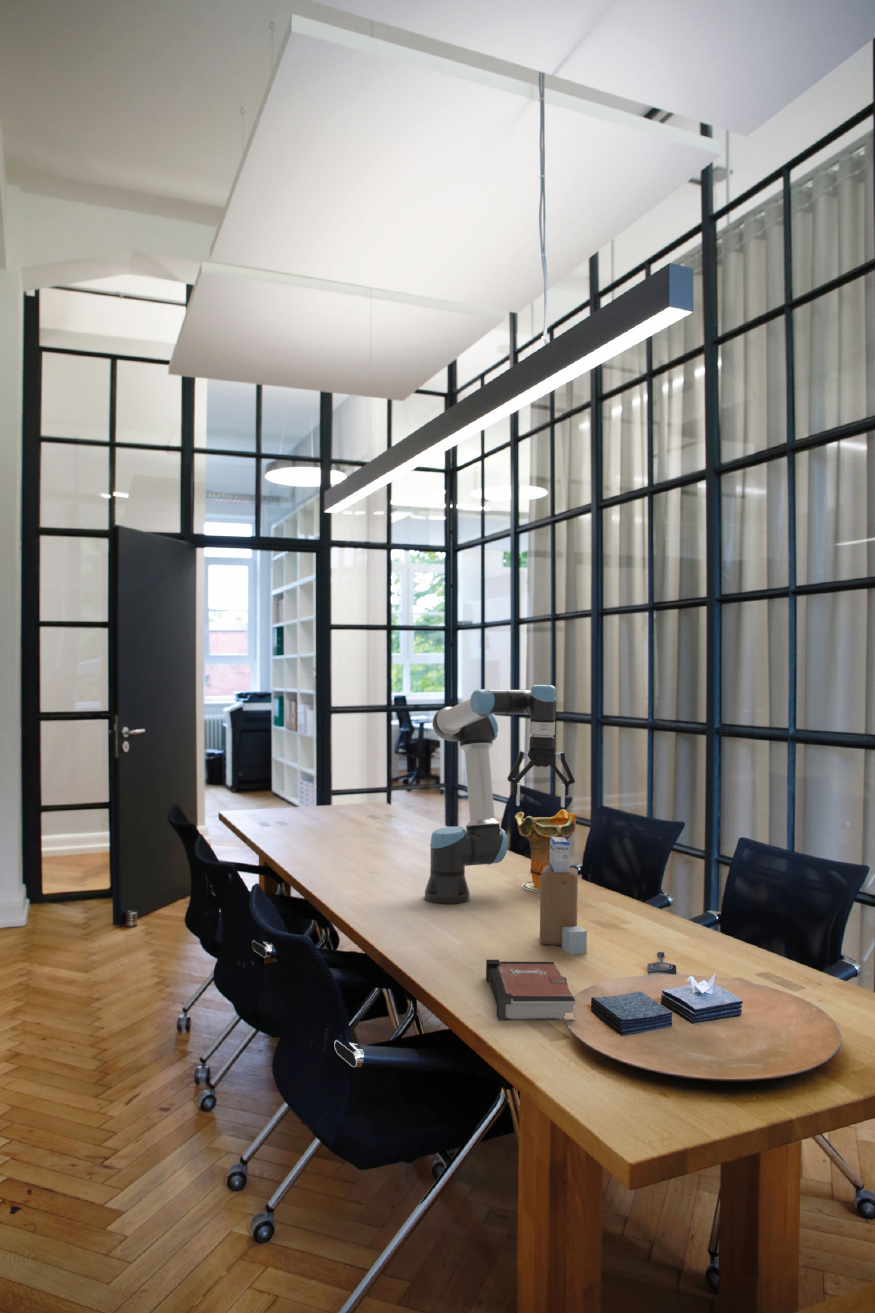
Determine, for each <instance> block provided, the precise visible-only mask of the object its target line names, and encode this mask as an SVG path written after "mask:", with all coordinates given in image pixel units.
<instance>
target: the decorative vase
mask: <svg viewBox="0 0 875 1313" xmlns="http://www.w3.org/2000/svg"><path fill="white" fill-rule="evenodd" d="M578 817H579V816H578V814H577V813H573V812H568V811H567V810H566V809H563V808H562V809H560V810H559V811H557V813H556V814H555V815H553V816H551V817H547V816H545V817H543V816H541V817H540V816H539V817H533V816H530V815H528V816H526V817H525V813H524V812H523V811H519V812H517V813H516V814H515V815H514V819H515V821H516V823H517V830H518V833H519V835H520V836H522V837H524V838H526V839H527V840H528V842H529V847H530V871H529V875H528V876H531V880H532V881H528V879H527V881H525V882H522V884H521V888H523V889H524V890H527V891H530V892H535V893H540V886H541V873H542V871H543V868H544V867H545V866H549V860H550V837H564V838H565V839H566V840H567V841H568V839H569V838H570V837H571V836H572V835H573V833H574V832H575V830H576V827H577V826H576V824H577V822H576V820H577V818H578ZM530 874H531V875H530Z"/></svg>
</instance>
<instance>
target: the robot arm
mask: <svg viewBox="0 0 875 1313" xmlns="http://www.w3.org/2000/svg"><path fill="white" fill-rule="evenodd" d="M530 688H531V689H530V690H528V689H487V688H483V689H475V690H474V691H473V692H472V694H471V695H470V698H468V699H466V700H465V701H462V702H460V703H458V704H456V705H455V706H446V707H443V708H441V709H439V710H438V711H436V712H435V714H434V715H433V718H432V721H431V722H432V723H431V724H432V728H433V731H434V733H435V734H436V736H438V737H439V738H441V739H442V740H445V741H447V742H459V747H460V749H461V750H462V751H463V752H464V760H465V772H466V773H465V774H466V784H467V785H466V787H467V798H468V799H467V800H468V813H469V821H468V823H467V824H466V825H465V827H463V826H457V825H456V826H446V827H440V828H437V829H435V830H434V831H433V832H432V833H431V836H430V844H429V847H430V865H429V866H430V868H429V869H430V870H429V871H430V874H429V877H428V881H427V884H426V886H425V890H424V899H425V901H428V902H432V903H435V904H443V905H445V904H448V905H449V904H451V905H452V904H462V903H465V902H467V901H469V900H470V890H469V886H468V881H467V879H466V871H465V870H466V868H465V867H468V866H481V865H482V866H483V865H484V866H485V865H488V866H489V865H492V864H493V865H494V864H499V863H501V862H502V861H503V860H504V859H505V857H506V855H507V852H508V846H509V842H508V840H509V839H508V835H507V833H506V831H505V830H504V829H503V828H502V827H500V822H499V821H498V820H496V818H495V807H494V797H493V796H494V795H493V783H492V782H493V780H492V771H491V760H490V749H491V748H492V747H493V743H494V741H495V740H496V739H497V737H498V732H499V724H498V720H497V717H496V715H530V720H529V723H530V724H529V734H530V735H531V736H530V737H529V748H528V749H529V750H528V751H523V750H519V752H518V757H517V760H516V761H515V763H514V765H513V767H512V769H511V771H510V773H509V774H508V776H507V778H506V779H507V781H508V782H510V783H512V792H513V795H516V797H515V798H516V800H515V801H516V802H515V805H516V806H517V807H519V806H520V803H521V802H520V799H521V798H520V797H521V783H520V781H521V780H522V779H523V777H525V776H526V774H527V773H528V772H529V771H530V769H532V768H533V767H536V768H539V767H543V768H548V767H550V768H551V769H552V770H553V771H554V773H555V774H556V775H557V777H558V778H559V779H560V780H561V781H562V783H563V784H560V790H561V791H560V807H561V808H565V804H566V803H565V802H566V801H565V800H566V797H568V796H569V793H570V792H569V791H570V790H569V788H570V785H571V784H575V782H576V780H575V779H574V778H575V777H574V776H573V773H572V772H571V769H570V767H569V765H568V763H567V761H566V755H565V752H563V751H561V752H555V743H556V742H555V740H556V738H555V737H554V736H555V733H556V731H555V730H556V729H555V727H556V712H557V711H556V705H557V702H556V701H557V694H556V693H557V692H556V686H554V685H551V684H550V685H547V684H533V685H532V686H531V687H530ZM527 757H528V758H529V761H528V762H527V764H526V765H525V766H524V768H523V769H522V770H521V771H520V772H519V773H518V774H517V775H516V773H517V772H518V770H519V767H520V766H521V764H522V762H523V761H524V760H525V759H526V758H527ZM556 758H557V759H558V760H559V761H560V763H561V765H562V767H563V769H564V771H565V774H566V776H567V777H568V779H566V777H565V776H564V774H563V773H562V772H561V771H560V770H559V768H558V767H557V766H556V764H555V763H554V762H553V761H554V760H555V759H556ZM515 775H516V776H515ZM514 777H515V778H514Z"/></svg>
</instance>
